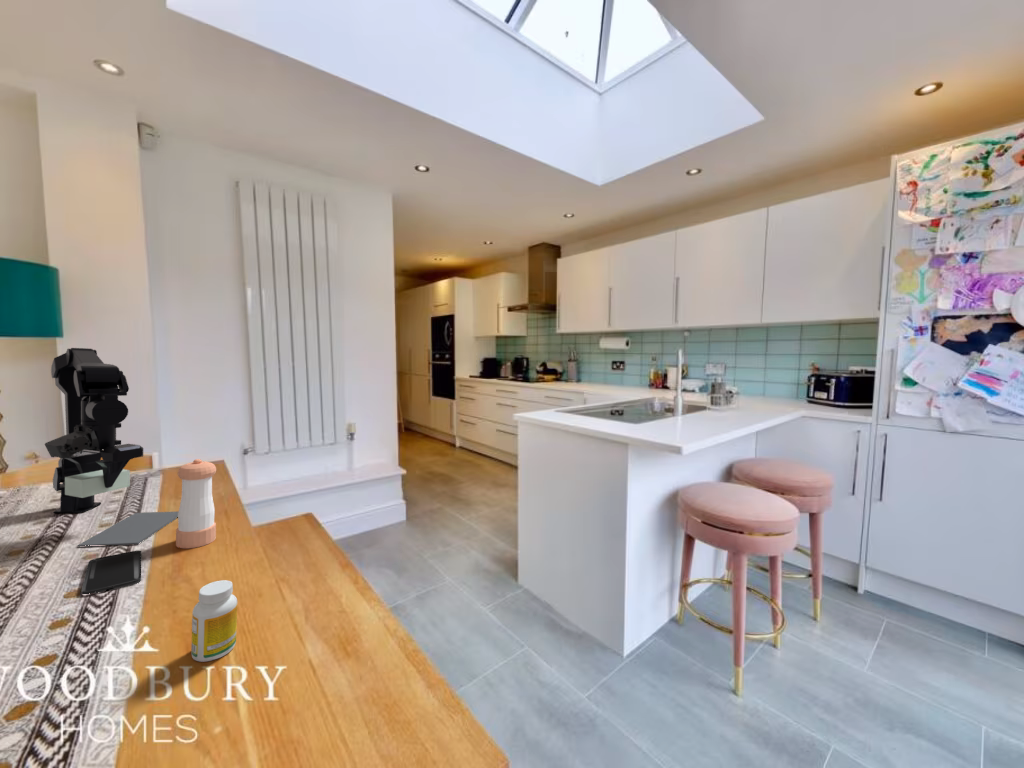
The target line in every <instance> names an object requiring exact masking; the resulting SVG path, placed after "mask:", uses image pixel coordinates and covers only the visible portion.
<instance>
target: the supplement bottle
mask: <svg viewBox="0 0 1024 768" xmlns="http://www.w3.org/2000/svg"><path fill="white" fill-rule="evenodd" d="M233 586H234V585H233V582H232V581H231V580H225V579H224V580H223V579H221V580H217V581H216V580H215V581H212V582H210V583H207V584H205V585H204V586H201V588H200V589H199V592H198V602H197V603H196V604H195V605H194V606H193V609H192V612H191V613H192V616H191V648H190V649H191V657H192V659H193V660H194V661H197V662H200V663H201V662H202V663H203V662H204V663H205V662H211V661H214V660H218V659H220V658H223V657H224V656H226V655H227V654H228V653H230V652H231V651H232V650H233V649H234V647H235V646H236V642H237V630H238V629H237V623H238V598H237V597H236V595H234V594H233V591H234V589H233V588H234V587H233Z"/></svg>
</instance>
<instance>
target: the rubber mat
mask: <svg viewBox="0 0 1024 768" xmlns="http://www.w3.org/2000/svg"><path fill="white" fill-rule="evenodd" d="M178 512H179V510H177V511H154V512H153V511H152V512H151V511H149V512H135V513H133V514H131V515H130V516H128V517H126V518H124V519H121V521H118V522H117V523H115V524H113V525H111V526H110V527H108V528H106V529H104V530H102V531H101V532H99V533H97V534H95V535H94V536H92V537H89V539H86V540H84V541H83V542H81V543H79V544H77V546H85V545H86V546H88V545H89V546H90V545H123V546H130V545H129V544H139V543H140V542H141V543H142V541H143V540H144V541H145V539H146V538H147V539H149V538H150V537H152V536H153V535H155V534H156V533H158V532H159V531H161V530H162V529H163V527H164V526H165V527H167V526H168V525H170V524H171V523H173V522H174V521H175V520H177V519H178V518H177V517H178ZM176 518H177V519H176ZM173 520H174V521H173ZM172 521H173V522H172ZM170 522H171V523H170ZM169 523H170V524H169ZM167 524H168V525H167ZM166 525H167V526H166ZM165 527H164V528H165ZM161 528H162V529H161ZM160 529H161V530H160ZM158 530H159V531H158ZM157 531H158V532H157ZM155 532H156V533H155ZM154 533H155V534H154ZM152 534H153V535H152ZM151 535H152V536H151ZM149 536H150V537H149ZM148 537H149V538H148ZM147 539H146V540H147ZM144 541H143V542H144ZM141 543H140V544H141ZM140 544H139V545H140Z"/></svg>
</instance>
